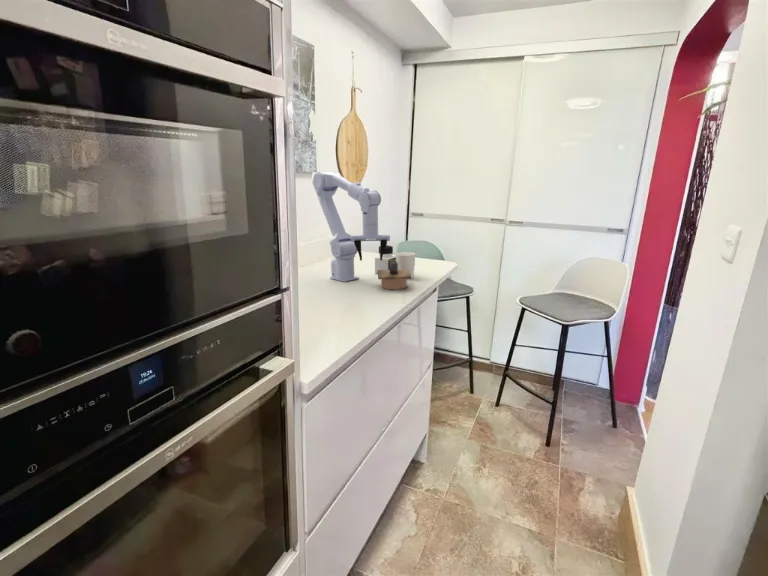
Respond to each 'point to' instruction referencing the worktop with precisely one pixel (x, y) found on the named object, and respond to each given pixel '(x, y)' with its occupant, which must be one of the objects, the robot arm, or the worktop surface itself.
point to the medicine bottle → (385, 259)
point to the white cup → (406, 261)
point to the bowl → (393, 283)
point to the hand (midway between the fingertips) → (371, 259)
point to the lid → (393, 273)
